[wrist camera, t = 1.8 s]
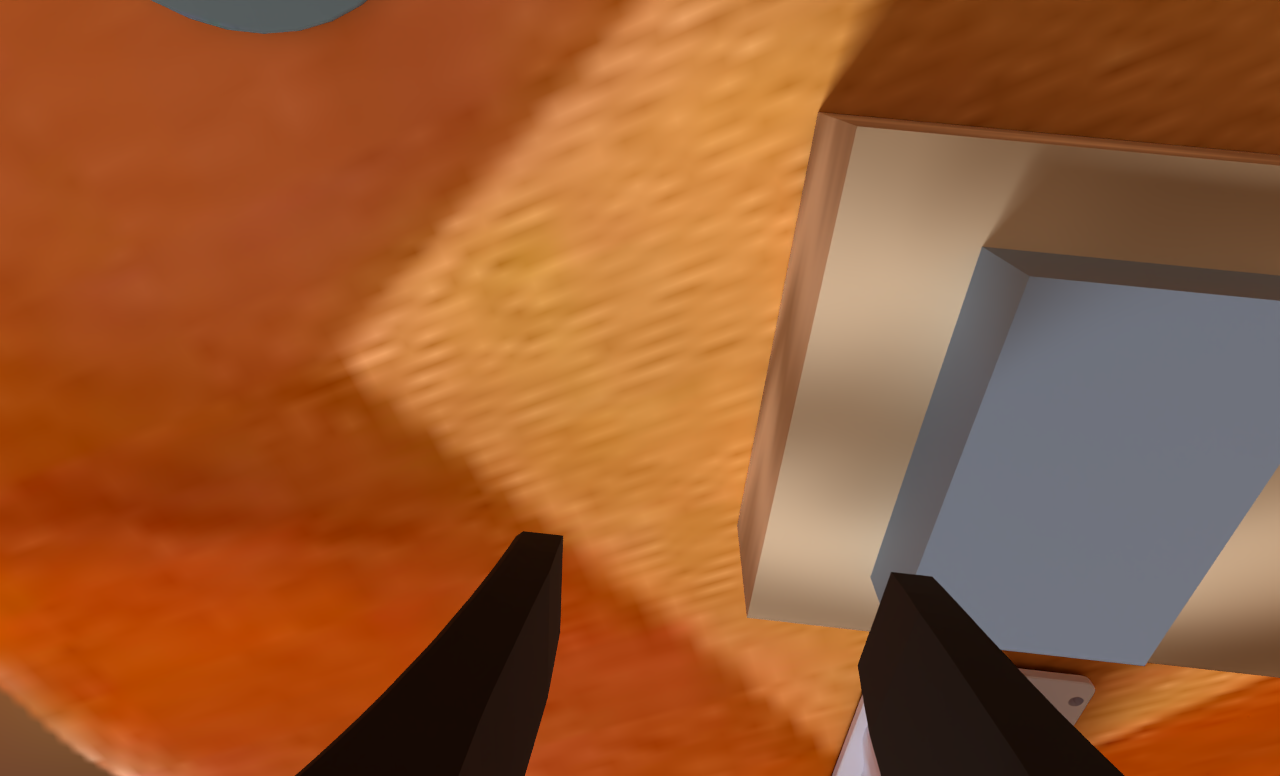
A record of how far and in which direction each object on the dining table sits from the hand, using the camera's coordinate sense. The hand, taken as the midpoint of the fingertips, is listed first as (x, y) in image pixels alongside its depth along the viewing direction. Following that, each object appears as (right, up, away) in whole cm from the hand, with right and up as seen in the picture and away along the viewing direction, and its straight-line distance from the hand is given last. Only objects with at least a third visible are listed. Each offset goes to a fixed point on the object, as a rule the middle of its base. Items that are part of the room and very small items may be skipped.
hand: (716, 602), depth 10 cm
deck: (+11, +3, +8) cm, 14 cm away
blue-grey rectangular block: (+8, +2, +5) cm, 10 cm away
